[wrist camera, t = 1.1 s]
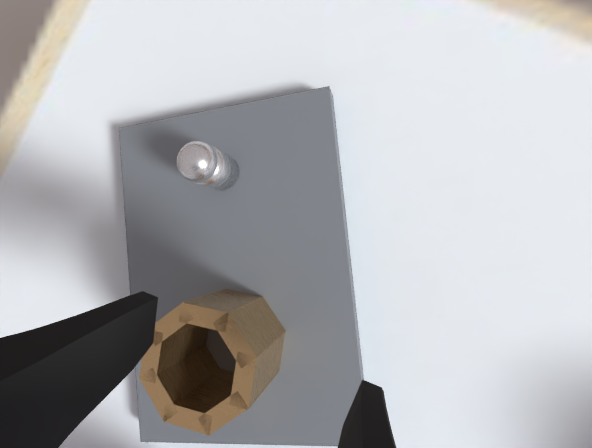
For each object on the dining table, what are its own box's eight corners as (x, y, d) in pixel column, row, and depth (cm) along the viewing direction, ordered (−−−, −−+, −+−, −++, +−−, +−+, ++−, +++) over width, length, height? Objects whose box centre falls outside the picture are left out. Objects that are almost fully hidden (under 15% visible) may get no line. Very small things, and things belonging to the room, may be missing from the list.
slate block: (369, 432, 21) (368, 446, 20) (154, 429, 25) (140, 441, 23) (332, 96, 23) (329, 86, 21) (133, 134, 26) (119, 127, 24)
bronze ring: (226, 406, 22) (181, 454, 17) (177, 325, 23) (121, 348, 18) (302, 355, 21) (278, 389, 16) (247, 272, 22) (209, 281, 17)
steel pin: (218, 197, 23) (182, 188, 19) (199, 169, 23) (160, 154, 19) (246, 175, 22) (216, 161, 18) (226, 147, 23) (192, 127, 19)
